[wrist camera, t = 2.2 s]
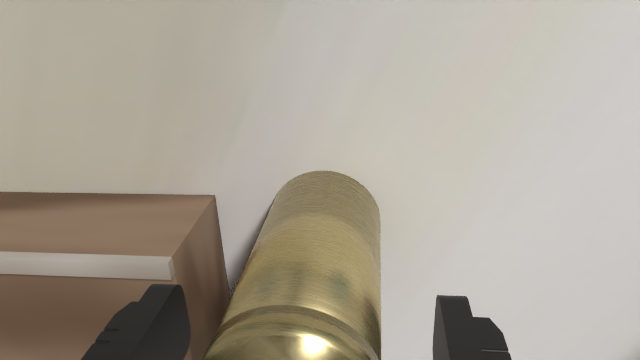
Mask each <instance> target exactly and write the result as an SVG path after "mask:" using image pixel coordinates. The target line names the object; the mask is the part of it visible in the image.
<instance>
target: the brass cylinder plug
mask: <svg viewBox="0 0 640 360" xmlns="http://www.w3.org/2000/svg"><path fill="white" fill-rule="evenodd" d="M202 360H381V252H380V214H379V209H378V207H377V204H376V202H375V200H374V198H373V197H372V195H371V194H370V193H369V191H368V190H367V189H366V188H365V187H364V186H363V185H361V184H360V183H359V182H357V181H356V180H354V179H353V178H351V177H348V176H346V175H343V174H340V173H337V172H332V171H314V172H308V173H305V174H302V175H299V176H297V177H295V178H293V179H292V180H290V181H289V182H288V183H286V184H285V185H284V186H283V187H282V188H281V190H280V191H279V192H278V194H277V195H276V197H275V199H274V202H273V204H272V206H271V208H270V211H269V213H268V215H267V218H266V220H265V222H264V224H263V227H262V229H261V231H260V234H259V236H258V238H257V240H256V243H255V245H254V247H253V250H252V252H251V254H250V256H249V259H248V261H247V263H246V266H245V268H244V270H243V272H242V275H241V277H240V279H239V282H238V284H237V286H236V288H235V291H234V293H233V295H232V298H231V300H230V302H229V304H228V307H227V309H226V311H225V314H224V316H223V318H222V320H221V323H220V325H219V327H218V330H217V331H216V332H215V334H214V335H213V337H212V338H211V340H210V343H209V345H208V347H207V349H206V351H205V354H204V356H203V358H202Z"/></svg>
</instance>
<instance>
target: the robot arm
mask: <svg viewBox="0 0 640 360" xmlns="http://www.w3.org/2000/svg"><path fill="white" fill-rule="evenodd" d="M190 339H191V328H190V322H189V317H188V312H187V306H186V301H185V296H184V291H183V288H182V286H181V285H178V284H151V285H150V286H149V288H148V289H147V290H146V292H145V293H144V295H143V296H142V297H141V299H140V300H139V302H130V303H129V304H128V305H126V306H125V307H124V308H122V309H121V310H120V311H118V312H117V313H115V314H114V316H113V317H112V318H111V320H110V321H109V322H108V324H107V325H106V326H105V328H104V331H102V332H101V333H100V334H99V336H98V337H97V338H96V340H95V343H93V344H92V345H91V346H90V348H89V349H88V350H87V352H86V353H85V354H84V356H83V357H82V358H81V360H184V358H185V355H186V353H187V351H188V348H189V345H190ZM433 360H511V357H510V354H509V353H508V348H507V345H506V342H505V339H504V336H503V333H502V332H501V331H500V329H499V328H498V327H497V326H496V325H495V324H494V323H493V322H492V321H491V319H490V318H481V317H473V316H472V313H471V309H470V305H469V301H468V298H467V297H466V296H444V295H437V298H436V308H435V322H434V335H433Z"/></svg>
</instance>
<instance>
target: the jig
mask: <svg viewBox="0 0 640 360" xmlns="http://www.w3.org/2000/svg"><path fill="white" fill-rule="evenodd" d="M151 284H178V285H181V286H182V288H183V291H184V296H185V301H186V306H187V312H188V317H189V322H190V328H191V339H190V345H189V348H188V351H187V353H186V355H185V358H184V360H202V358H203V356H204V354H205V351H206V349H207V347H208V345H209V343H210V340H211V338H212V337H213V335H214V334H215V332H216V331H217V330H218V327H219V325H220V323H221V320H222V318H223V316H224V314H225V311H226V309H227V307H228V304H229V302H230V295H229V289H228V282H227V275H226V268H225V261H224V254H223V247H222V240H221V234H220V227H219V220H218V213H217V206H216V199H215V195H164V194H98V193H32V192H0V360H81V358H82V357H83V356H84V354H85V353H86V352H87V350H88V349H89V348H90V346H91V345H92V344H93V343H95V340H96V338H97V337H98V336H99V334H100V333H101V332H102V331H104V328H105V326H106V325H107V324H108V322H109V321H110V320H111V318H112V317H113V316H114V314H115V313H117V312H118V311H120V310H121V309H122V308H124V307H125V306H126V305H128V304H129V303H130V302H139V300H140V299H141V297H142V296H143V295H144V293H145V292H146V290H147V289H148V288H149V286H150V285H151Z"/></svg>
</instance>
